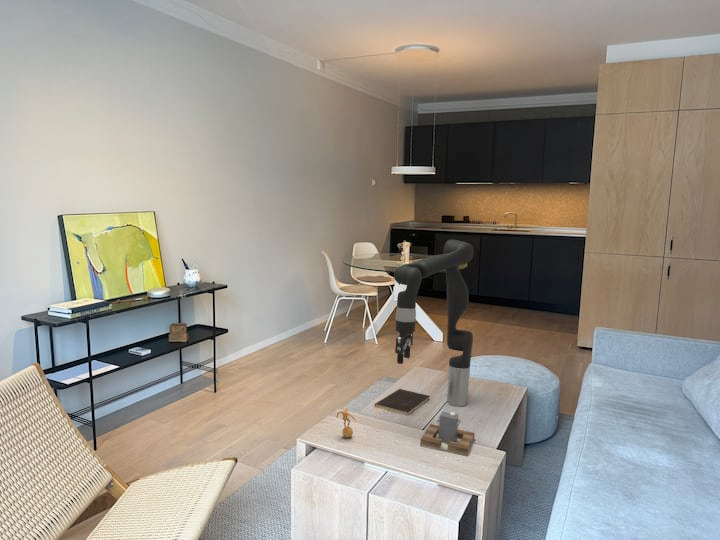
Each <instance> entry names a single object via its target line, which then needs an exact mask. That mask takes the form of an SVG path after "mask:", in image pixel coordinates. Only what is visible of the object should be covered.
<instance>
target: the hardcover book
mask: <svg viewBox="0 0 720 540" xmlns="http://www.w3.org/2000/svg"><path fill="white" fill-rule="evenodd" d="M430 397H431V396H430V395H428V394H424V393H419V392H416V391H411V390H407V389H402V388H398V389H397V390H395V391H393V392H392V393H390V394H389V395H387V396H385V397H384V398H382V399H380V400H379V401H377V402H375V403H374V407H375V408H378V409H383V410H385V411H391V412H393V413H397V414H401V415H405V416H409V415H410V414H411V413H412V412H414V411H415V410H416V409H418V408H420V407H421V406H422V405H423V404H425V403H426V402H428V401H429V399H430Z"/></svg>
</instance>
